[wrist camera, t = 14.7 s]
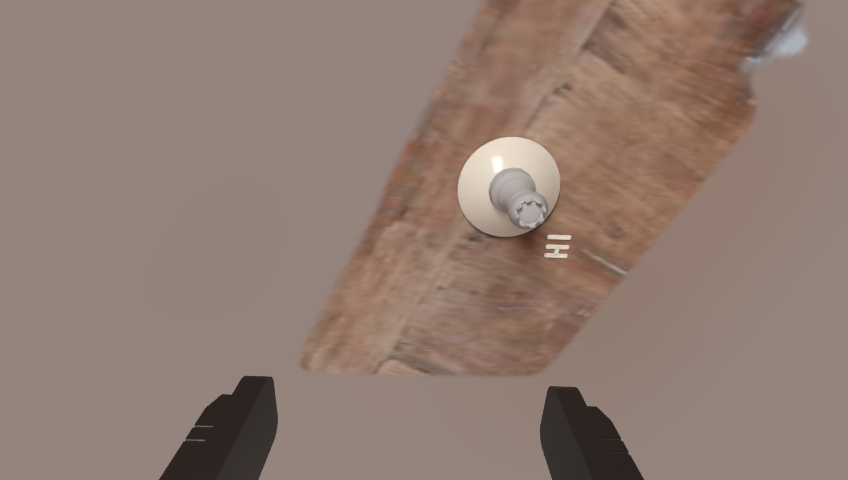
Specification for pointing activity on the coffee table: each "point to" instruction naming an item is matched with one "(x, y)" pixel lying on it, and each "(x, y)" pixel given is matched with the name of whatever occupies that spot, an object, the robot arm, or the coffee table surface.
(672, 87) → the coffee table surface
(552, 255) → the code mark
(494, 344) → the coffee table surface
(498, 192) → the rook chess piece
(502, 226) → the cream round disc
